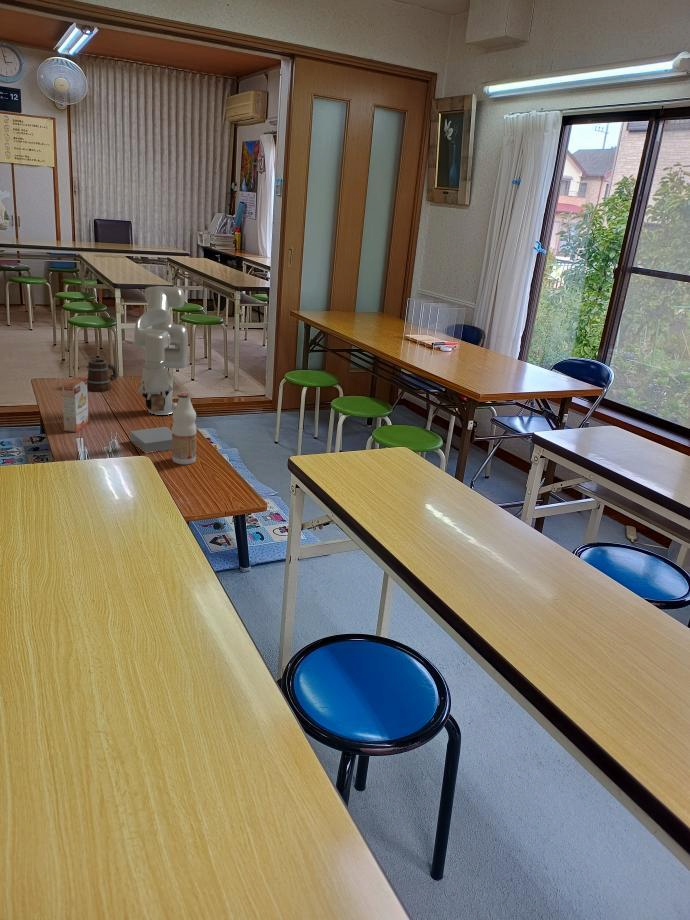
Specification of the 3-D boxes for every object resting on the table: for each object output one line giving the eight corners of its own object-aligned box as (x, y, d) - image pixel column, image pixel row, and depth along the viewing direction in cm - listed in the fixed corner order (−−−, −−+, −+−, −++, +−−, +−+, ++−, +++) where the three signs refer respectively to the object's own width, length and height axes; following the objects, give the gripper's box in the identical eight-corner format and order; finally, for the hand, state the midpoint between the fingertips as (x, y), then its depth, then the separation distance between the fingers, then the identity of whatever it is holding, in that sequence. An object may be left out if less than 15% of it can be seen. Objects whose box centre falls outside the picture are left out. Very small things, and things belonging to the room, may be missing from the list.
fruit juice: (176, 466, 266) (176, 397, 256) (168, 457, 274) (168, 391, 264) (199, 463, 271) (200, 396, 261) (191, 455, 278) (191, 389, 268)
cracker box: (77, 432, 291) (74, 385, 283) (63, 431, 291) (60, 384, 283) (89, 422, 304) (87, 377, 296) (76, 421, 304) (73, 376, 296)
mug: (90, 392, 345) (88, 364, 340) (84, 386, 354) (82, 358, 349) (121, 390, 354) (120, 362, 348) (114, 384, 363) (113, 357, 357)
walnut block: (158, 407, 283) (158, 393, 281) (163, 410, 280) (163, 396, 278) (147, 408, 280) (147, 394, 278) (152, 411, 277) (152, 397, 275)
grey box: (166, 437, 296) (165, 426, 295) (181, 449, 285) (181, 438, 283) (130, 442, 287) (130, 431, 285) (145, 454, 275) (145, 443, 274)
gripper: (170, 360, 281) (171, 402, 288) (130, 363, 271) (132, 407, 277) (178, 365, 276) (178, 407, 282) (138, 368, 265) (139, 412, 272)
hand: (155, 407), depth 280 cm, fingers closed on walnut block, 5 cm apart
